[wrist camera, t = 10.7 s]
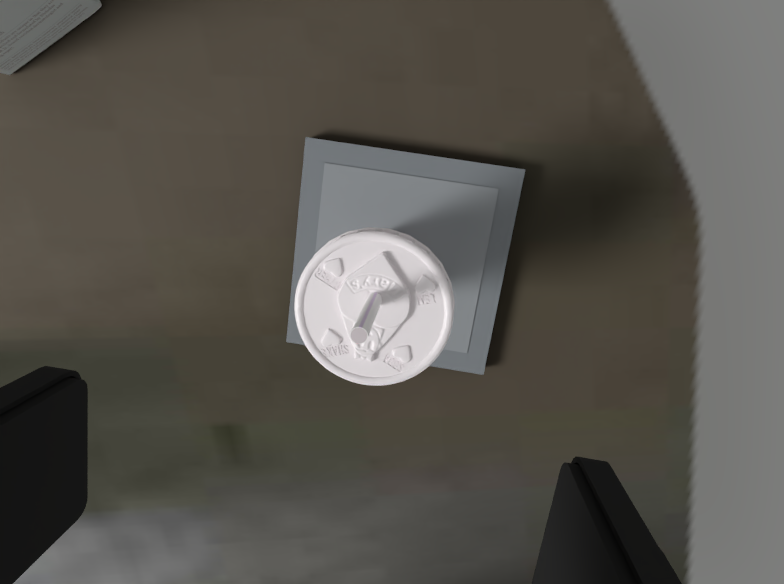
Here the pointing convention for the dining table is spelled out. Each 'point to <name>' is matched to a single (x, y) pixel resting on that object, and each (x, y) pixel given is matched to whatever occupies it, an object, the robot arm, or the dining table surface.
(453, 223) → the plate
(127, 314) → the dining table surface
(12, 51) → the supplement box
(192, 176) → the dining table surface
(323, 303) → the smoothie
